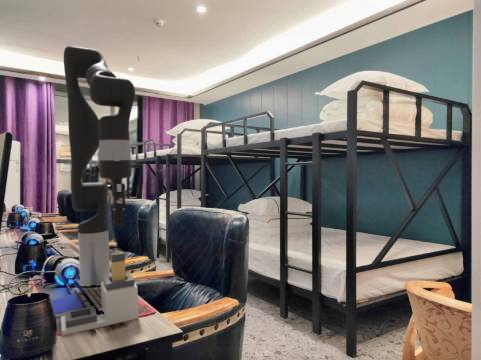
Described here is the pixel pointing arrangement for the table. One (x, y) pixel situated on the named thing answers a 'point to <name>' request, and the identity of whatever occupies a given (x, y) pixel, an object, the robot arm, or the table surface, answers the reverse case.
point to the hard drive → (65, 304)
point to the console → (105, 307)
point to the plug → (117, 266)
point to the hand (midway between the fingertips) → (117, 223)
